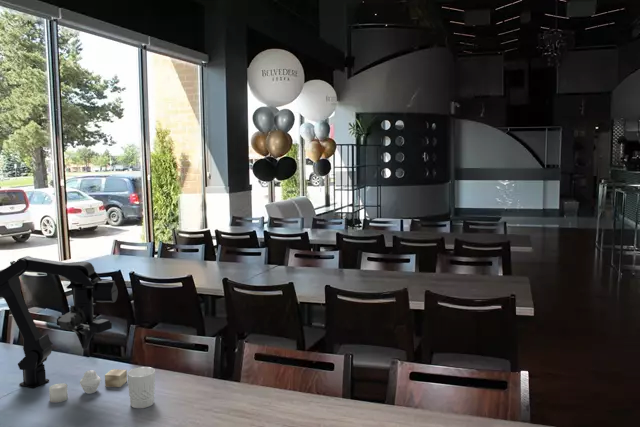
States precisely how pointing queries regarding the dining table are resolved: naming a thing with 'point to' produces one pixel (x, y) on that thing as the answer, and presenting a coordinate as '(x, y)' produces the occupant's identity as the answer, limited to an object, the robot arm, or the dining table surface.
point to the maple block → (115, 378)
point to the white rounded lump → (58, 393)
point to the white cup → (141, 386)
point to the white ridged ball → (90, 382)
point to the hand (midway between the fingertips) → (84, 348)
